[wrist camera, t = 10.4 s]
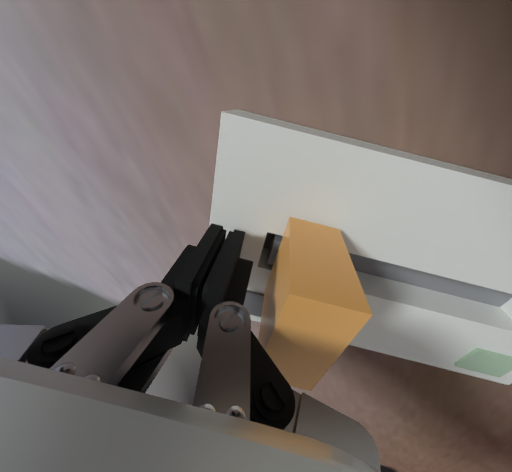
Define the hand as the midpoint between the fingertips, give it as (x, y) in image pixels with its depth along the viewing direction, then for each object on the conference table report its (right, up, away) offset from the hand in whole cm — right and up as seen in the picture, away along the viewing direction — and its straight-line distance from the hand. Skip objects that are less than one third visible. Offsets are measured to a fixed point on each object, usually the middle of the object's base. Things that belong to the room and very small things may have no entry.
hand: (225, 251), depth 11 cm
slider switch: (+10, 0, +3) cm, 11 cm away
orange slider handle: (+4, 0, +2) cm, 5 cm away
